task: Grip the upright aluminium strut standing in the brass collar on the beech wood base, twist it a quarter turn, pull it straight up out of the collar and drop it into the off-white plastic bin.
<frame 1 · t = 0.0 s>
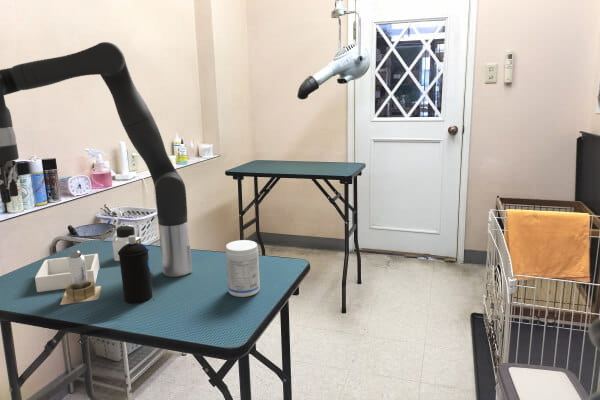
hand: (10, 199, 140), 29 cm above the table, tool pointing down, fingers open, 8 cm apart
socket base: (82, 299, 141), on the table
aerosol can: (139, 303, 138), on the table
medicine bottle: (128, 258, 174), on the table
bin: (70, 282, 153), on the table
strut: (81, 294, 140), point 1 cm above the table, touching socket base
supplement tub: (244, 291, 144), on the table
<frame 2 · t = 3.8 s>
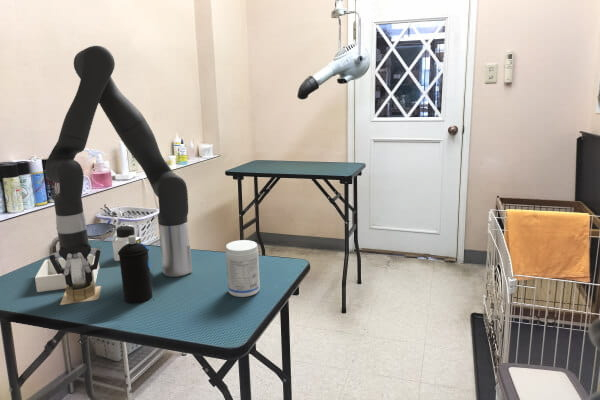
hand: (80, 284, 140), 5 cm above the table, tool pointing down, fingers closed on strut, 4 cm apart
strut: (81, 294, 140), point 1 cm above the table, touching gripper, socket base
everything else where it was.
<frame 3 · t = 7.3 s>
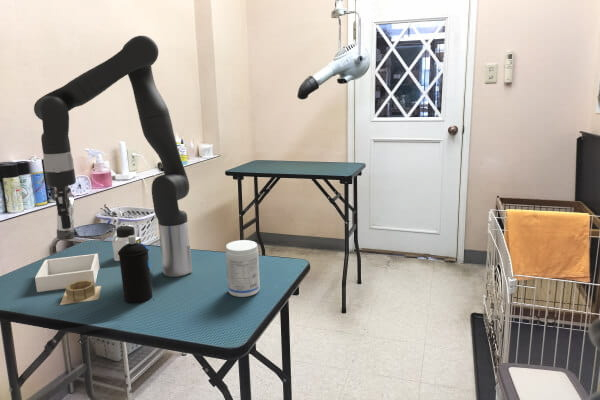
hand: (67, 225, 140), 21 cm above the table, tool pointing down, fingers closed on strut, 4 cm apart
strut: (65, 237, 141), point 18 cm above the table, tilted 7°, touching gripper
everything else where it was.
when the fingers open (6 cm above the table, at t = 11.1 s): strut drops 2 cm, resting on bin.
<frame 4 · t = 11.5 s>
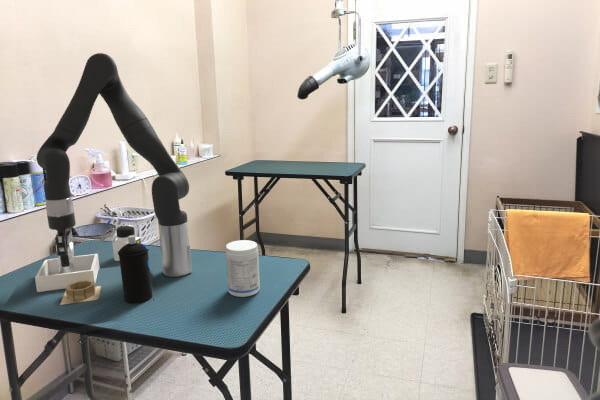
hand: (67, 261, 151), 7 cm above the table, tool pointing down, fingers open, 8 cm apart
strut: (66, 279, 153), point 1 cm above the table, tilted 7°, touching bin
everything else where it was.
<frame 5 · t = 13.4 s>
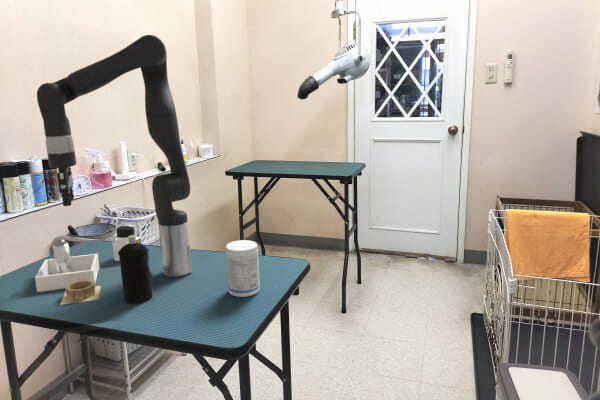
hand: (68, 202, 149), 26 cm above the table, tool pointing down, fingers open, 8 cm apart
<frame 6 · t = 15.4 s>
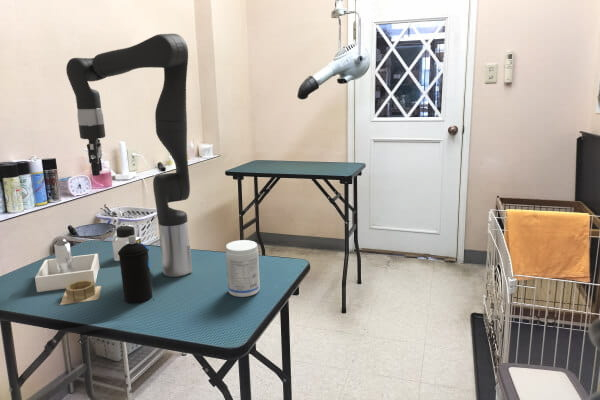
hand: (97, 173, 157), 33 cm above the table, tool pointing down, fingers open, 8 cm apart
nothing on the table moved.
at the end: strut inside the target area on the bin (1.1 cm from its centre), point 1.0 cm above the bin's base; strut moved 16.2 cm from its start; the gripper is holding nothing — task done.
